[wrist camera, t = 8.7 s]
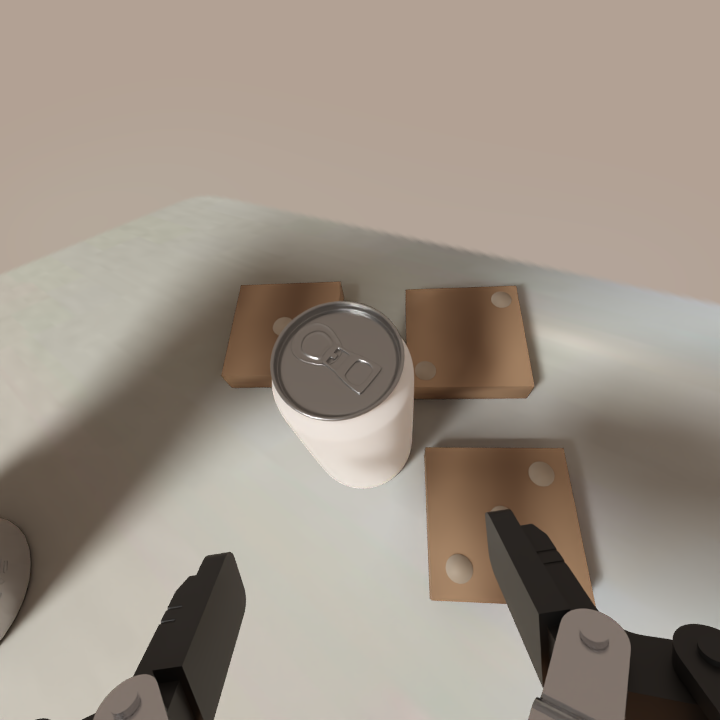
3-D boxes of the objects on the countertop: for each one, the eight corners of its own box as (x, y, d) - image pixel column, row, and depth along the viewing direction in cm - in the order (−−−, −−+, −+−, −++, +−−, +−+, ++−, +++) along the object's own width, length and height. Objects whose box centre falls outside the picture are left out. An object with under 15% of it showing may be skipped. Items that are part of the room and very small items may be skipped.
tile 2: (407, 399, 28) (407, 386, 26) (405, 305, 32) (405, 289, 30) (526, 398, 27) (534, 385, 26) (509, 302, 31) (516, 285, 29)
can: (356, 380, 29) (328, 270, 19) (431, 431, 27) (446, 338, 16) (296, 450, 27) (228, 371, 17) (372, 512, 25) (347, 466, 14)
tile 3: (429, 598, 23) (431, 600, 21) (424, 455, 26) (425, 447, 24) (580, 605, 22) (596, 608, 20) (552, 457, 25) (563, 448, 24)
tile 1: (232, 387, 30) (220, 375, 28) (249, 300, 34) (240, 284, 32) (337, 386, 29) (333, 374, 27) (343, 297, 33) (340, 281, 31)
